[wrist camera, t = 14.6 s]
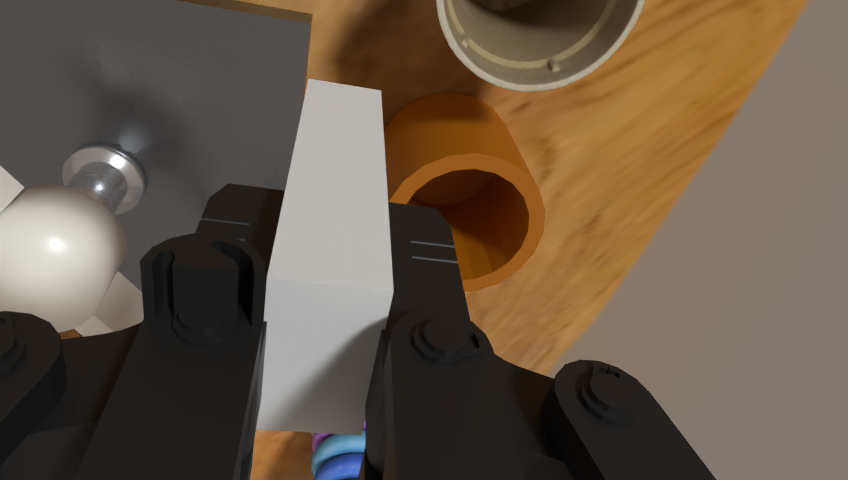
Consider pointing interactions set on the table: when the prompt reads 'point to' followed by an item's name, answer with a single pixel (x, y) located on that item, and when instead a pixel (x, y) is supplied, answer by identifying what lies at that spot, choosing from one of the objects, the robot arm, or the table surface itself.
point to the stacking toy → (337, 456)
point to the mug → (466, 182)
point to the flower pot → (535, 38)
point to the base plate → (150, 104)
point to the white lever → (64, 259)
